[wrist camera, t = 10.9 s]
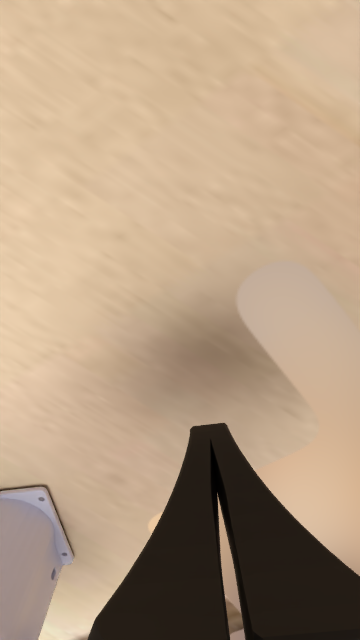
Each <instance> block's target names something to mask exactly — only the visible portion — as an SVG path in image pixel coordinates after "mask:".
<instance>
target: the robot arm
mask: <svg viewBox="0 0 360 640" xmlns="http://www.w3.org/2000/svg"><path fill="white" fill-rule="evenodd" d="M217 493H218V497H219V501H220V506H221V511H222V515H223V519H224V524H225V528H226V532H227V537H228V541H229V545H230V549H231V554H232V558H233V564H234V569H235V574H236V581H237V586H238V594H239V599H240V606H241V613H242V620H243V626H244V633H245V639H246V640H360V576H358V575H357V574H356V573H355V572H354V571H353V570H351V569H350V568H349V567H348V566H346V565H345V564H344V563H343V562H342V561H340V560H339V559H338V558H337V557H336V556H335V555H334V554H333V553H331V552H330V551H329V550H328V549H327V548H326V547H324V546H323V545H322V544H321V543H320V542H319V541H318V540H317V539H316V538H315V537H314V536H313V535H312V534H311V533H310V532H309V531H308V530H306V529H305V528H304V527H303V526H302V525H301V524H300V523H299V522H298V521H297V520H296V519H295V518H294V517H293V516H292V515H291V514H290V513H289V511H288V510H287V509H285V507H284V506H283V505H282V504H281V503H280V502H279V501H278V499H277V498H276V497H275V496H274V495H273V494H272V493H271V491H270V490H269V489H268V488H267V487H266V485H265V484H264V483H263V482H262V480H261V479H260V478H259V476H257V474H256V472H255V471H254V470H253V468H252V467H251V465H250V464H249V463H248V461H247V460H246V458H245V457H244V455H243V454H242V452H241V451H240V449H239V447H238V446H237V444H236V442H235V441H234V439H233V437H232V435H231V433H230V431H229V429H228V427H227V425H226V424H225V423H218V424H210V425H201V426H193V427H192V428H191V429H190V437H189V443H188V447H187V451H186V455H185V458H184V461H183V464H182V468H181V471H180V474H179V476H178V479H177V481H176V484H175V487H174V489H173V492H172V494H171V496H170V499H169V501H168V503H167V505H166V508H165V510H164V512H163V514H162V516H161V518H160V520H159V522H158V524H157V526H156V527H155V529H154V531H153V533H152V535H151V537H150V539H149V540H148V542H147V544H146V545H145V547H144V549H143V551H142V552H141V554H140V555H139V557H138V558H137V560H136V562H135V563H134V565H133V566H132V568H131V569H130V571H129V573H128V574H127V576H126V577H125V579H124V580H123V582H122V583H121V585H120V586H119V587H118V589H117V590H116V591H115V593H114V594H113V596H112V597H111V598H110V600H109V601H108V602H107V604H106V605H105V606H104V608H103V609H102V611H101V612H100V613H99V615H98V616H97V617H96V619H95V621H94V624H93V626H92V629H91V632H90V634H89V637H88V640H230V635H229V627H228V619H227V611H226V602H225V594H224V586H223V578H222V569H221V556H220V537H219V516H218V498H217ZM73 560H74V556H73V554H72V551H71V549H70V546H69V544H68V541H67V539H66V536H65V534H64V531H63V529H62V526H61V523H60V521H59V518H58V516H57V513H56V511H55V508H54V506H53V503H52V501H51V498H50V496H49V493H48V491H47V489H46V488H45V487H33V488H24V489H15V490H6V491H0V640H38V638H39V635H40V632H41V629H42V626H43V623H44V620H45V617H46V614H47V611H48V608H49V605H50V602H51V599H52V596H53V593H54V590H55V586H56V583H57V580H58V577H59V574H60V571H61V568H62V565H69V564H71V563H72V562H73Z"/></svg>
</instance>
